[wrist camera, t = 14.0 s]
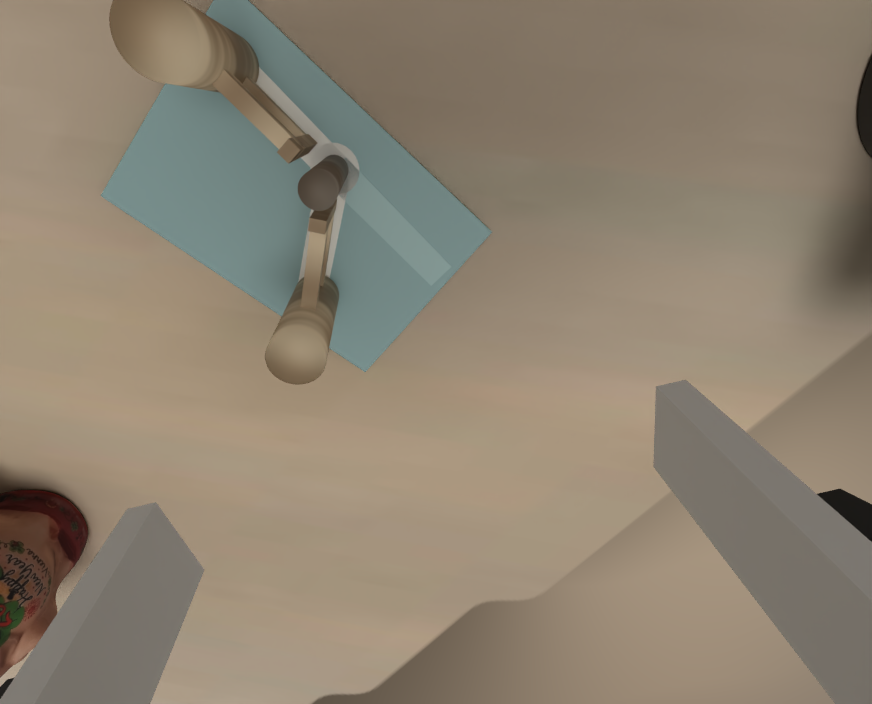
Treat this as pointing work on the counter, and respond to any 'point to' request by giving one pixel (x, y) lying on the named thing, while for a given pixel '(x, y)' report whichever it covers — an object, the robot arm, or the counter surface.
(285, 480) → the counter surface
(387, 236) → the card
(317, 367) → the fence panel
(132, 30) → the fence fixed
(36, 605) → the brown sculpted mug
